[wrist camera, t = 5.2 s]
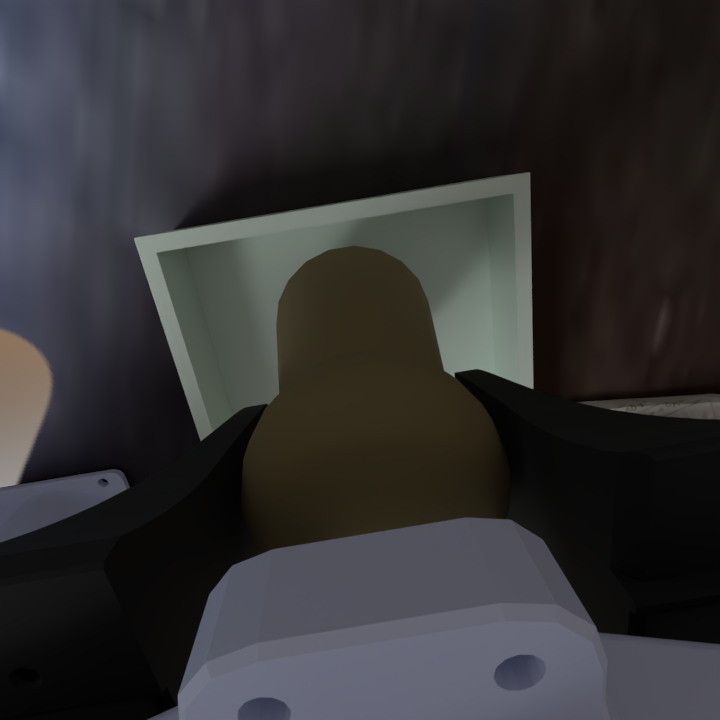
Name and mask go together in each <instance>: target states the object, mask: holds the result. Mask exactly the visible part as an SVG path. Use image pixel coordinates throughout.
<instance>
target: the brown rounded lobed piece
mask: <svg viewBox="0 0 720 720" xmlns="http://www.w3.org/2000/svg"><path fill="white" fill-rule="evenodd" d="M276 332H277V356H278V380H279V394H278V395H277V396H276V397H275V398H274V399H273V400H272V402H271V403H270V404H269V405H268V406H267V407H266V408H265V410H264V412H263V414H262V416H261V418H260V420H259V422H258V424H257V426H256V428H255V430H254V432H253V434H252V436H251V438H250V440H249V443H248V446H247V449H246V452H245V455H244V458H243V470H242V483H241V503H242V514H243V517H244V520H245V523H246V526H247V529H248V532H249V535H250V538H251V541H252V544H253V546H254V547H255V549H256V551H257V552H258V554H259V555H260V554H263V553H265V552H268V551H270V550H273V549H278V548H284V547H290V546H296V545H302V544H308V543H314V542H320V541H326V540H332V539H338V538H344V537H350V536H357V535H363V534H369V533H375V532H381V531H387V530H393V529H399V528H405V527H411V526H417V525H423V524H429V523H435V522H441V521H447V520H453V519H460V518H466V517H468V518H488V519H506V518H507V514H508V511H509V508H510V469H509V464H508V458H507V453H506V450H505V448H504V445H503V443H502V441H501V438H500V436H499V434H498V432H497V429H496V427H495V425H494V422H493V420H492V418H491V417H490V415H489V414H488V412H487V411H486V409H485V408H484V406H483V405H482V403H481V402H480V401H479V400H478V399H477V398H476V397H475V396H474V395H473V394H471V393H470V392H469V391H468V390H467V389H466V388H465V387H464V386H463V385H462V384H461V383H460V382H459V381H458V380H457V379H456V378H455V377H453V376H452V375H450V374H449V373H447V372H445V371H444V368H443V364H442V359H441V355H440V350H439V346H438V342H437V337H436V333H435V328H434V324H433V320H432V315H431V311H430V306H429V302H428V299H427V297H426V295H425V292H424V290H423V288H422V286H421V283H420V281H419V279H418V278H417V277H416V276H415V275H414V274H413V273H412V272H411V271H410V269H409V268H408V267H407V266H406V265H405V264H404V263H403V262H402V261H400V260H398V259H396V258H394V257H393V256H391V255H389V254H387V253H385V252H383V251H381V250H378V249H372V248H366V247H360V246H349V247H343V248H337V249H330V250H327V251H325V252H323V253H322V254H320V255H318V256H316V257H314V258H312V259H310V260H308V261H306V262H305V263H304V264H303V265H302V266H301V267H300V268H299V269H298V270H297V271H296V272H295V274H294V275H293V276H292V277H291V278H290V279H289V280H288V282H287V284H286V286H285V289H284V291H283V293H282V295H281V297H280V299H279V302H278V312H277V322H276Z"/></svg>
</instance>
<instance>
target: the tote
mask: <svg viewBox="0 0 720 720" xmlns="http://www.w3.org/2000/svg"><path fill="white" fill-rule="evenodd" d="M134 240H135V243H136V246H137V249H138V252H139V256H140V259H141V262H142V265H143V268H144V271H145V274H146V277H147V280H148V283H149V286H150V289H151V292H152V295H153V298H154V301H155V304H156V307H157V310H158V313H159V316H160V319H161V322H162V325H163V328H164V331H165V334H166V338H167V341H168V344H169V347H170V350H171V353H172V356H173V359H174V362H175V365H176V368H177V371H178V374H179V377H180V380H181V383H182V386H183V389H184V392H185V395H186V398H187V401H188V404H189V407H190V410H191V413H192V416H193V420H194V423H195V426H196V429H197V432H198V435H199V438H200V441H202V440H203V439H204V438H206V437H207V436H208V435H209V434H211V433H212V432H213V431H214V430H216V429H217V428H218V427H219V426H221V425H222V424H223V423H224V422H225V421H227V420H228V419H229V418H230V417H232V416H233V415H234V414H236V413H237V412H238V411H240V410H241V409H243V408H245V407H250V406H256V405H262V404H268V405H269V404H270V403H271V402H272V400H273V399H274V398H275V397H276V396H277V395H278V394H279V380H278V356H277V332H276V322H277V312H278V302H279V299H280V297H281V295H282V293H283V291H284V289H285V286H286V284H287V282H288V280H289V279H290V278H291V277H292V276H293V275H294V274H295V272H296V271H297V270H298V269H299V268H300V267H301V266H302V265H303V264H304V263H305V262H306V261H308V260H310V259H312V258H314V257H316V256H318V255H320V254H322V253H323V252H325V251H327V250H330V249H337V248H343V247H349V246H360V247H366V248H372V249H378V250H381V251H383V252H385V253H387V254H389V255H391V256H393V257H394V258H396V259H398V260H400V261H402V262H403V263H404V264H405V265H406V266H407V267H408V268H409V269H410V271H411V272H412V273H413V274H414V275H415V276H416V277H417V278H418V279H419V281H420V283H421V286H422V288H423V290H424V292H425V295H426V297H427V299H428V302H429V306H430V311H431V315H432V320H433V324H434V328H435V333H436V337H437V342H438V346H439V350H440V355H441V359H442V364H443V368H444V371H445V372H447V373H449V374H450V375H452V376H453V377H455V372H461V371H467V370H473V369H480V370H483V371H486V372H489V373H492V374H495V375H497V376H500V377H502V378H505V379H508V380H510V381H513V382H515V383H518V384H520V385H523V386H526V387H529V388H531V389H533V329H532V262H531V196H530V172H527V173H519V174H511V175H503V176H495V177H488V178H482V179H476V180H470V181H464V182H458V183H452V184H446V185H440V186H434V187H428V188H422V189H416V190H410V191H404V192H398V193H392V194H386V195H380V196H374V197H368V198H362V199H356V200H350V201H344V202H338V203H332V204H326V205H320V206H314V207H308V208H302V209H296V210H290V211H284V212H278V213H272V214H266V215H260V216H254V217H248V218H242V219H236V220H230V221H224V222H218V223H212V224H206V225H200V226H194V227H188V228H182V229H176V230H170V231H165V232H161V233H156V234H151V235H146V236H141V237H137V238H134Z"/></svg>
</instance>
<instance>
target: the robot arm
mask: <svg viewBox="0 0 720 720" xmlns="http://www.w3.org/2000/svg"><path fill="white" fill-rule="evenodd" d="M455 378H456V379H457V380H458V381H459V382H460V383H461V384H462V385H463V386H464V387H465V388H466V389H467V390H468V391H469V392H470V393H471V394H473V395H474V396H475V397H476V398H477V399H478V400H479V401H480V402H481V403H482V405H483V406H484V408H485V409H486V411H487V412H488V414H489V415H490V417H491V418H492V420H493V422H494V425H495V427H496V429H497V432H498V434H499V436H500V438H501V441H502V443H503V445H504V448H505V450H506V453H507V458H508V464H509V469H510V508H509V511H508V514H507V518H506V519H488V518H468V517H466V518H460V519H453V520H447V521H441V522H435V523H429V524H423V525H417V526H411V527H405V528H399V529H393V530H387V531H381V532H375V533H369V534H363V535H357V536H350V537H344V538H338V539H332V540H326V541H320V542H314V543H308V544H302V545H296V546H290V547H284V548H278V549H273V550H270V551H268V552H265V553H263V554H260V555H259V554H258V552H257V551H256V549H255V547H254V546H253V544H252V541H251V538H250V535H249V532H248V529H247V526H246V523H245V520H244V517H243V514H242V503H241V483H242V470H243V458H244V455H245V452H246V449H247V446H248V443H249V440H250V438H251V436H252V434H253V432H254V430H255V428H256V426H257V424H258V422H259V420H260V418H261V416H262V414H263V412H264V410H265V408H266V407H267V406H268V404H262V405H256V406H250V407H245V408H243V409H241V410H240V411H238V412H237V413H236V414H234V415H233V416H232V417H230V418H229V419H228V420H227V421H225V422H224V423H223V424H222V425H221V426H219V427H218V428H217V429H216V430H214V431H213V432H212V433H211V434H209V435H208V436H207V437H206V438H204V439H203V440H202V441H200V442H199V443H198V444H196V445H195V446H194V447H192V448H191V449H190V450H188V451H187V452H186V453H184V454H183V455H182V456H180V457H179V458H177V459H176V460H175V461H173V462H172V463H170V464H169V465H167V466H166V467H164V468H163V469H161V470H160V471H158V472H156V473H155V474H153V475H151V476H150V477H148V478H146V479H145V480H143V481H141V482H139V483H138V484H136V485H134V486H132V487H130V486H129V484H128V481H127V479H126V476H125V475H124V473H123V472H122V471H120V470H117V469H111V470H105V471H98V472H92V473H86V474H80V475H74V476H68V477H62V478H56V479H50V480H44V481H38V482H32V483H26V484H20V485H14V486H8V487H2V488H0V720H720V419H695V418H679V417H665V416H655V415H645V414H638V413H631V412H624V411H617V410H611V409H605V408H600V407H595V406H591V405H587V404H582V403H578V402H573V401H570V400H566V399H562V398H559V397H556V396H553V395H549V394H546V393H543V392H540V391H537V390H534V389H531V388H529V387H526V386H523V385H520V384H518V383H515V382H513V381H510V380H508V379H505V378H502V377H500V376H497V375H495V374H492V373H489V372H486V371H483V370H480V369H473V370H467V371H461V372H455ZM102 479H106V480H107V481H108V482H104V481H103V480H102Z"/></svg>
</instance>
